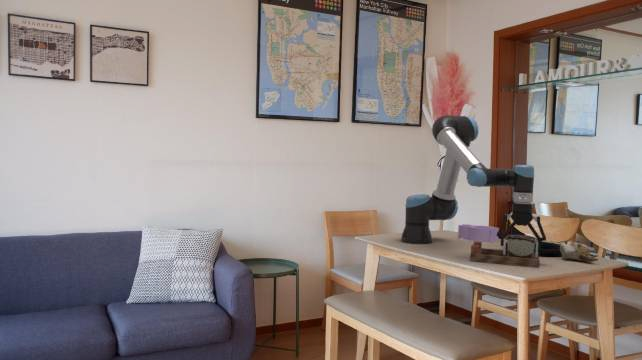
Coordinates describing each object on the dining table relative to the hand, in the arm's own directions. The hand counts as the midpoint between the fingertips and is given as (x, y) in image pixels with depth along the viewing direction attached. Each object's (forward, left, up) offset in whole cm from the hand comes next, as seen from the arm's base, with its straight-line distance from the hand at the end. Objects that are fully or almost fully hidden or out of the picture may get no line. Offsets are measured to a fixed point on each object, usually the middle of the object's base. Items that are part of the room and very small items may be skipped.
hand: (520, 255), depth 213 cm
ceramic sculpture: (+23, +16, -3) cm, 28 cm away
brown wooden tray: (-6, 0, -3) cm, 6 cm away
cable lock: (+7, +31, -3) cm, 32 cm away
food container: (+1, 0, -2) cm, 2 cm away
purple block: (-22, +56, -3) cm, 60 cm away
